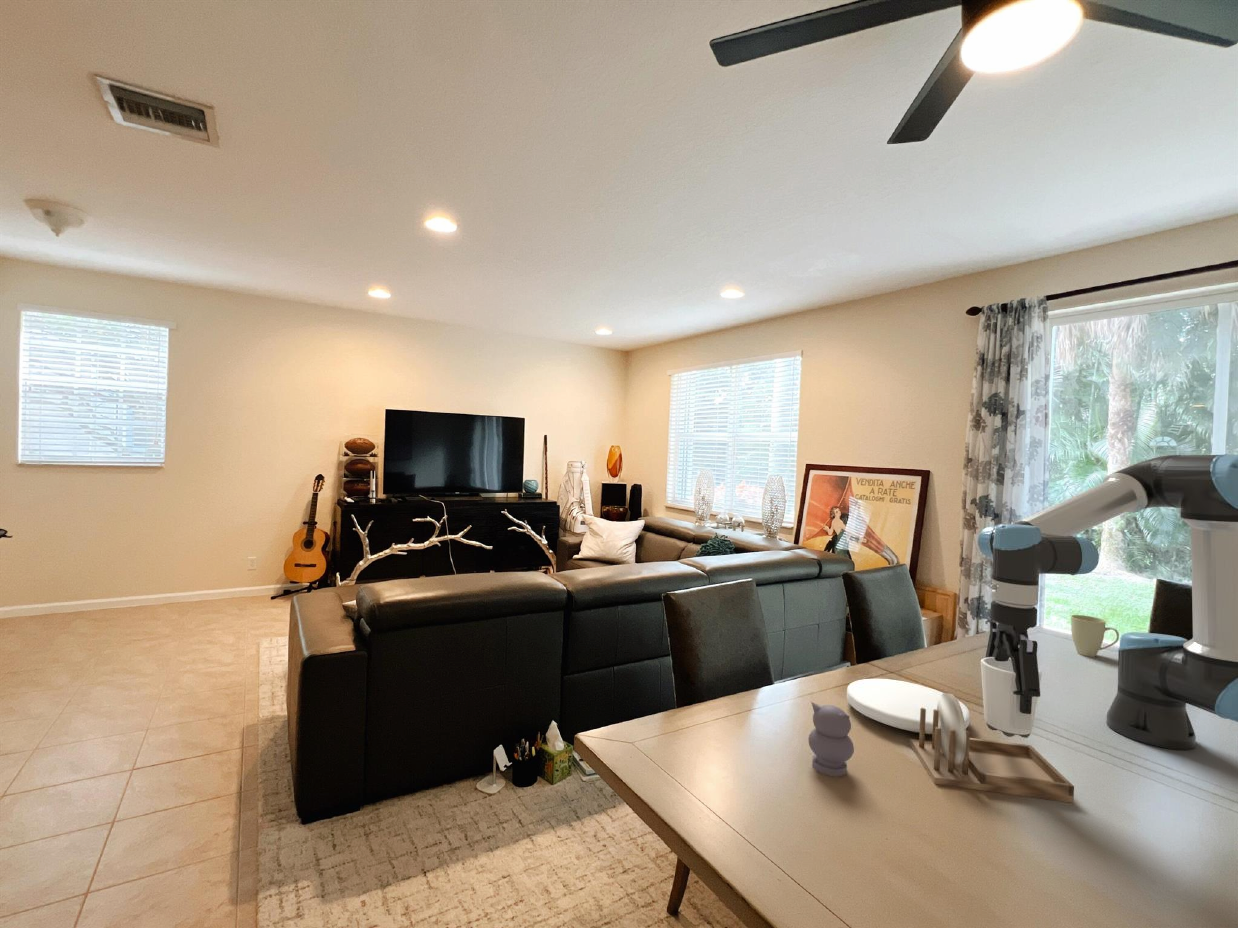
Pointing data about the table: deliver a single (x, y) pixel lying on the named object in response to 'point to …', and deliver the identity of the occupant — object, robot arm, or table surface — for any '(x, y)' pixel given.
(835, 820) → the table surface
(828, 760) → the cat figurine
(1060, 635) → the table surface
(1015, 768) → the rack
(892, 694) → the plate
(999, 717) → the cup
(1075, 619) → the mug
